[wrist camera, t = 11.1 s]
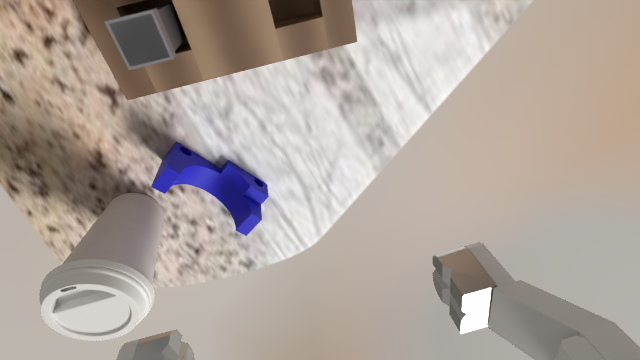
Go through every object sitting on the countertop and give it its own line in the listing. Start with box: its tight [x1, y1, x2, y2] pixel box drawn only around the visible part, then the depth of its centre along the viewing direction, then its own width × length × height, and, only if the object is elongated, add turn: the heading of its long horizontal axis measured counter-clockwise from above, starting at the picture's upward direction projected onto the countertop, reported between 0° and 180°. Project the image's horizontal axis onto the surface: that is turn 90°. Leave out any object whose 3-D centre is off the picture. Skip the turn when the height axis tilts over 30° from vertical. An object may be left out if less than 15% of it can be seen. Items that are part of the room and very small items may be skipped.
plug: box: [104, 2, 186, 70], centre depth 28 cm, size 3×3×9 cm
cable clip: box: [151, 142, 268, 236], centre depth 40 cm, size 12×4×6 cm, turn 47°
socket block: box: [73, 0, 357, 100], centre depth 31 cm, size 22×10×5 cm, turn 101°
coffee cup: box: [40, 193, 164, 341], centre depth 37 cm, size 10×10×15 cm
